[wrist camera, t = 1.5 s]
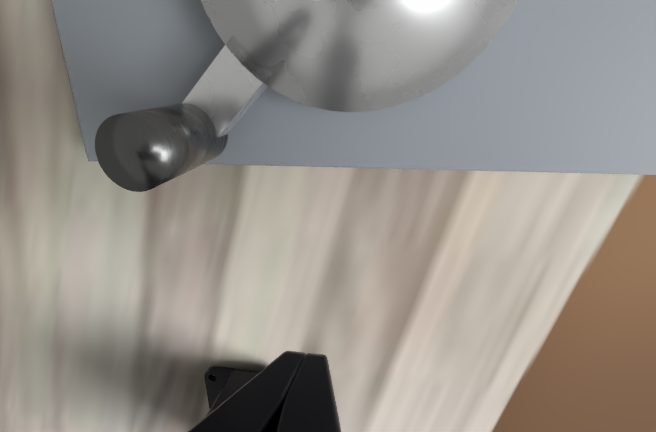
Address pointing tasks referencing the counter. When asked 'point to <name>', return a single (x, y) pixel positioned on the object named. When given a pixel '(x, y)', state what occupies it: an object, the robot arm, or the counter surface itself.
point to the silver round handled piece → (299, 72)
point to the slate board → (408, 118)
